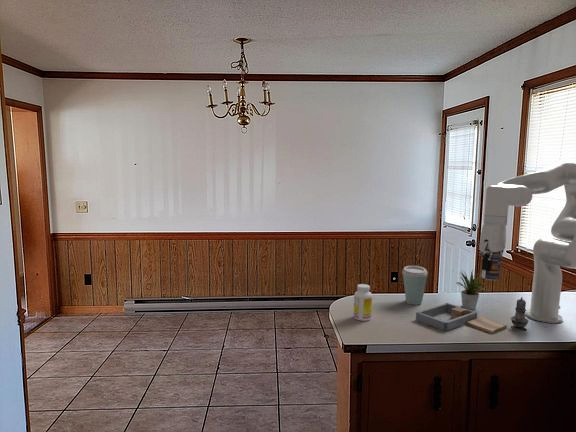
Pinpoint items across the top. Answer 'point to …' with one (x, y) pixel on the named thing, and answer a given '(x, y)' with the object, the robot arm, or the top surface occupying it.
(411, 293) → the disposable coffee cup
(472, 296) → the house plant
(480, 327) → the pad
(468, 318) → the bin
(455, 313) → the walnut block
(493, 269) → the pill bottle
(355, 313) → the supplement bottle
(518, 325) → the stone chess piece
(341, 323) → the top surface
